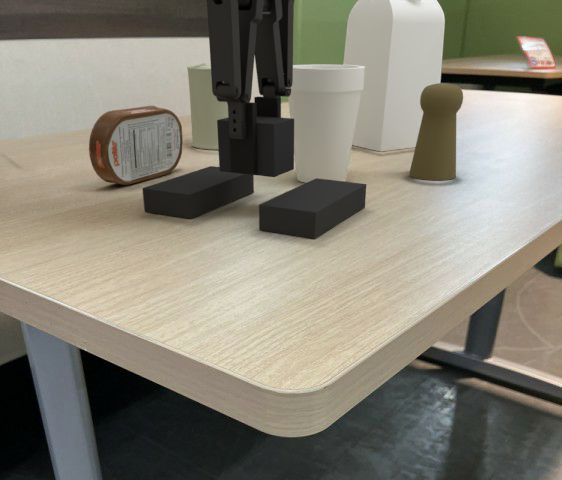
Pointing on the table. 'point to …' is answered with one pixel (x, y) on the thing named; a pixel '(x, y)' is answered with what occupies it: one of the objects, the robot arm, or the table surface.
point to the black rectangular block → (263, 146)
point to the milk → (393, 67)
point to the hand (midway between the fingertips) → (256, 167)
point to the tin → (135, 144)
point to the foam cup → (324, 118)
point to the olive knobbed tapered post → (437, 133)
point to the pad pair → (272, 214)
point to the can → (204, 108)
